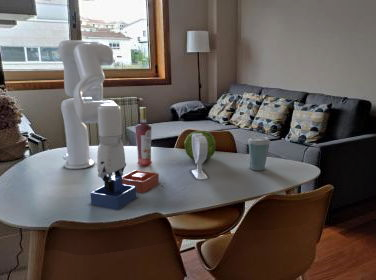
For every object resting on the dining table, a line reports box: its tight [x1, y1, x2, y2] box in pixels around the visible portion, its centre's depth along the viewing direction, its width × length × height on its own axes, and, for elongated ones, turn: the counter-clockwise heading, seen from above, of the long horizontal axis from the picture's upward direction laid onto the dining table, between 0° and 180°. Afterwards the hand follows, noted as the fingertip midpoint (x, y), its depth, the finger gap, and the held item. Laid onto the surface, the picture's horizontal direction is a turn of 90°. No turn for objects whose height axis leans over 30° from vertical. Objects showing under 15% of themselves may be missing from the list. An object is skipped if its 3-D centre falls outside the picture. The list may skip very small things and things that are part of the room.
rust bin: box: [121, 169, 160, 194], centre depth 143 cm, size 11×11×4 cm
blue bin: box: [90, 184, 137, 211], centre depth 129 cm, size 11×11×4 cm
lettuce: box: [184, 130, 217, 160], centre depth 183 cm, size 16×21×15 cm
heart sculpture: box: [191, 133, 208, 180], centre depth 158 cm, size 16×5×18 cm, turn 18°
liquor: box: [134, 106, 153, 168], centre depth 167 cm, size 7×7×28 cm
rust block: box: [132, 173, 147, 181], centre depth 143 cm, size 4×4×4 cm
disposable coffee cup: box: [247, 136, 271, 171], centre depth 169 cm, size 11×11×15 cm
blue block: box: [112, 174, 123, 192], centre depth 128 cm, size 4×4×4 cm
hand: (113, 188), depth 128 cm, fingers closed on blue block, 4 cm apart
